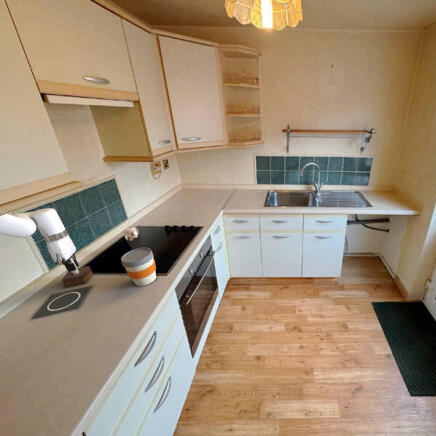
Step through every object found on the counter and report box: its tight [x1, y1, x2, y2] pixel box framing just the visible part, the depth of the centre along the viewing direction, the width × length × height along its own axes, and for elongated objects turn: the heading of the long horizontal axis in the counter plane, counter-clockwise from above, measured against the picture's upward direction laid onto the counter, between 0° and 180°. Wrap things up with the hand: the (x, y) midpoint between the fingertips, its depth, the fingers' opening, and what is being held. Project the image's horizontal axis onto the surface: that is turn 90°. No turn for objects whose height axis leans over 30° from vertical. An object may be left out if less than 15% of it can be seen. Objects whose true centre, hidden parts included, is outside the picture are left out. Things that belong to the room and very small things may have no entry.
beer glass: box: [123, 226, 144, 250], centre depth 132 cm, size 7×7×15 cm
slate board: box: [32, 285, 92, 320], centre depth 100 cm, size 15×14×1 cm
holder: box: [61, 265, 93, 288], centre depth 112 cm, size 8×8×5 cm
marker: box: [65, 258, 79, 275], centre depth 110 cm, size 2×2×12 cm
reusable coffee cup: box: [120, 247, 157, 287], centre depth 109 cm, size 12×13×15 cm
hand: (73, 268), depth 110 cm, fingers closed on marker, 2 cm apart
